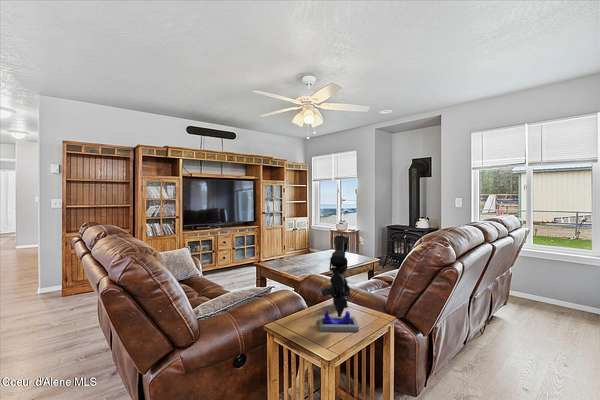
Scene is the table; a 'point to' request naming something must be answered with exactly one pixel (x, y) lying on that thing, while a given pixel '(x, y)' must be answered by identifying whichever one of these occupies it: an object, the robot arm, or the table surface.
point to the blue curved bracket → (343, 321)
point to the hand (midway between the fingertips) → (338, 312)
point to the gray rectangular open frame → (336, 326)
